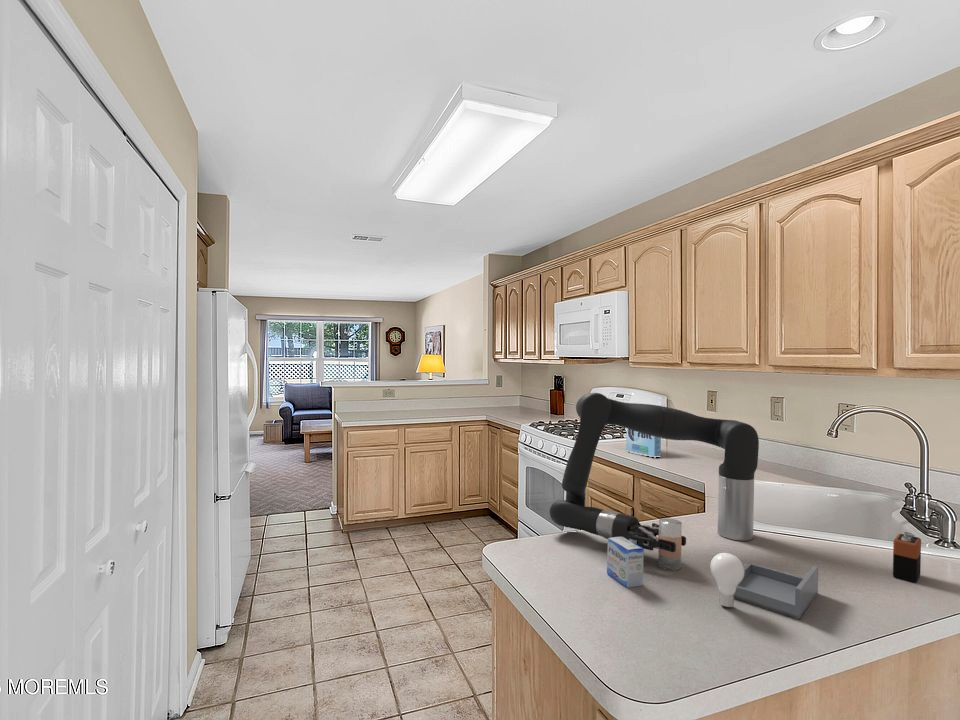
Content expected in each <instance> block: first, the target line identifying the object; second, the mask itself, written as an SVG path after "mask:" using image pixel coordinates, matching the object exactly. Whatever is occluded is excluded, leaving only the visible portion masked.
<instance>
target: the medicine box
mask: <svg viewBox="0 0 960 720" xmlns="http://www.w3.org/2000/svg"><path fill="white" fill-rule="evenodd" d="M644 551H645V549H643V548H642V547H640V546H638V545H636V544H634V543H633V542H631V541H629V540H627V539H625V538H624V537H613V538H608V539H607V554H606V555H607V561H606V574H607V575H608V576H609V577H611V578H613V579H614V580H615V581H616V582H618V583H620V585H623V586H624V587H626V588H627V589H630V588H636V587H635V586H637V587H641V586H643V585H644V584H643V583H644V554H645V553H644ZM640 585H641V586H640Z"/></svg>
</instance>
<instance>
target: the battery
mask: <svg viewBox="0 0 960 720" xmlns="http://www.w3.org/2000/svg"><path fill="white" fill-rule="evenodd" d="M892 547H893V548H892V549H893V551H892V553H893V554H892V558H893V559H892V576H893V578H895V579H898V580H902V581H906V582H911V583H914V584H916V583H917V582H918V580H919V579H920V576H921V563H922V561H921V558H922V554H921V553H922V539H921V538H920V537H917V536H915V534H914V533H913V532H909V531H903V532H902V533H898V534H897V535H896V536H895V538H894V539H893V546H892Z"/></svg>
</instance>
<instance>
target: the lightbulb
mask: <svg viewBox="0 0 960 720" xmlns="http://www.w3.org/2000/svg"><path fill="white" fill-rule="evenodd" d="M709 565H710V566H709V567H710V572H711V574H712V576H713V578H714V580H715V581H716V584H717V589H718V591H719V604H720V605H722V606H723V607H724V608H732V607H734V606H735V602H734V601H735V598H734V593H735V592H736V588H737V586H738V585H739V583H740V582H741V581H742V580H743V578H744V573H745V571H744V566H745V565H744V564H743V562H742V561H741V560H740V559H739V558H738V557H737V556H736V555H734V554H733V553H729V552H720V553H717V554H715V555H714V556H713V558H712V559H711V561H710V564H709Z"/></svg>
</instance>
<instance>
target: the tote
mask: <svg viewBox="0 0 960 720" xmlns="http://www.w3.org/2000/svg"><path fill="white" fill-rule="evenodd" d="M743 566H744V571H745V573H744V578H743V580H742V581H741V582H740V583H739V585H738V586H737V588H736V592H735V593H734V599H735V598H736V599H735V600H738V599H739V601H741V600H742V601H741V602H744V601H745V602H744V603H747V604H750V605H753V606H756V607H759V608H762V609H766V610H768V611H771V612H774V613H777V614H781V615H783V616H787V617H789V618H793V619H796V620H798V621H799V620H801V619H802V618H803V615H805V613H806V611H807V610H808V608H809V607H810V606H811V604H812V602H813V601H814V600H815V598H816V597H817V595H818V592H819V566H818V565H815V564H814V565H813V566H812V567H811V569H809V571H808V572H807V573H806V574H805V576H804V577H803V576H799V575H795V574H791V573H789V572H784V571H780V570H779V569H773V568H770V567H768V566H763V565H760V564H757V563H753V562H748V563H746V564H745V565H743Z"/></svg>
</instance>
